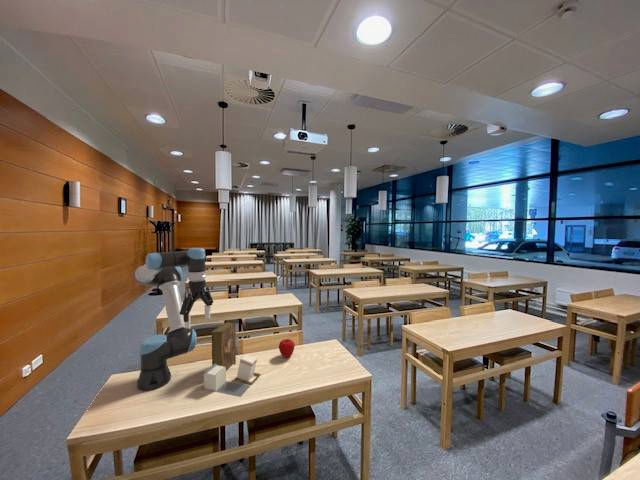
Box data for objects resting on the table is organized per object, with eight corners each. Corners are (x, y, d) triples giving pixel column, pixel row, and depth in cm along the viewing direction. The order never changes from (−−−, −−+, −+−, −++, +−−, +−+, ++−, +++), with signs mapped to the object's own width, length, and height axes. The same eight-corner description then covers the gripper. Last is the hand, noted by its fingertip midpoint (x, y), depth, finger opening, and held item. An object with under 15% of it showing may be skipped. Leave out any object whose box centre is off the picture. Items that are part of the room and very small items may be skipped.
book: (228, 361, 161) (228, 321, 159) (236, 362, 160) (236, 321, 158) (212, 376, 145) (211, 331, 143) (221, 377, 143) (220, 332, 142)
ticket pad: (203, 388, 132) (203, 371, 132) (214, 379, 140) (214, 363, 139) (215, 391, 130) (215, 374, 130) (226, 381, 138) (225, 365, 138)
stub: (236, 377, 140) (240, 358, 139) (241, 372, 145) (245, 353, 144) (248, 382, 138) (252, 363, 137) (253, 377, 143) (257, 358, 142)
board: (201, 391, 132) (201, 388, 132) (213, 380, 141) (213, 378, 141) (240, 399, 126) (240, 396, 126) (250, 388, 135) (250, 385, 135)
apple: (276, 358, 165) (275, 341, 165) (284, 351, 174) (283, 335, 173) (289, 361, 161) (289, 344, 161) (297, 354, 170) (297, 337, 169)
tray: (234, 383, 139) (234, 379, 139) (243, 374, 147) (243, 370, 147) (252, 386, 136) (252, 382, 136) (260, 377, 144) (260, 373, 144)
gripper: (183, 286, 116) (185, 333, 117) (220, 275, 140) (220, 315, 141) (169, 285, 118) (171, 331, 119) (207, 274, 142) (208, 313, 143)
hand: (198, 322), depth 130 cm, fingers open, 13 cm apart
